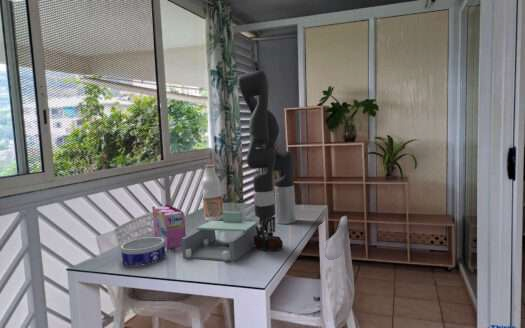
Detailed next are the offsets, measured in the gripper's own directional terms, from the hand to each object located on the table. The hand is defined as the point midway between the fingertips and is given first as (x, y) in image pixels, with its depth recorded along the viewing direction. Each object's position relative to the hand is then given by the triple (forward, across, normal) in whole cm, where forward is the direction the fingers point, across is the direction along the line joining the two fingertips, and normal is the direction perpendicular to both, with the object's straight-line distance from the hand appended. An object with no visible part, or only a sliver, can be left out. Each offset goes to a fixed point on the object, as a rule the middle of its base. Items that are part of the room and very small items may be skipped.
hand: (267, 247), depth 138 cm
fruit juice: (+1, -38, -44) cm, 58 cm away
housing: (0, +5, -17) cm, 18 cm away
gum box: (+1, -2, -46) cm, 46 cm away
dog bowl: (+1, +18, -42) cm, 46 cm away
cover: (-7, -1, -17) cm, 18 cm away
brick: (+1, 0, 0) cm, 1 cm away
